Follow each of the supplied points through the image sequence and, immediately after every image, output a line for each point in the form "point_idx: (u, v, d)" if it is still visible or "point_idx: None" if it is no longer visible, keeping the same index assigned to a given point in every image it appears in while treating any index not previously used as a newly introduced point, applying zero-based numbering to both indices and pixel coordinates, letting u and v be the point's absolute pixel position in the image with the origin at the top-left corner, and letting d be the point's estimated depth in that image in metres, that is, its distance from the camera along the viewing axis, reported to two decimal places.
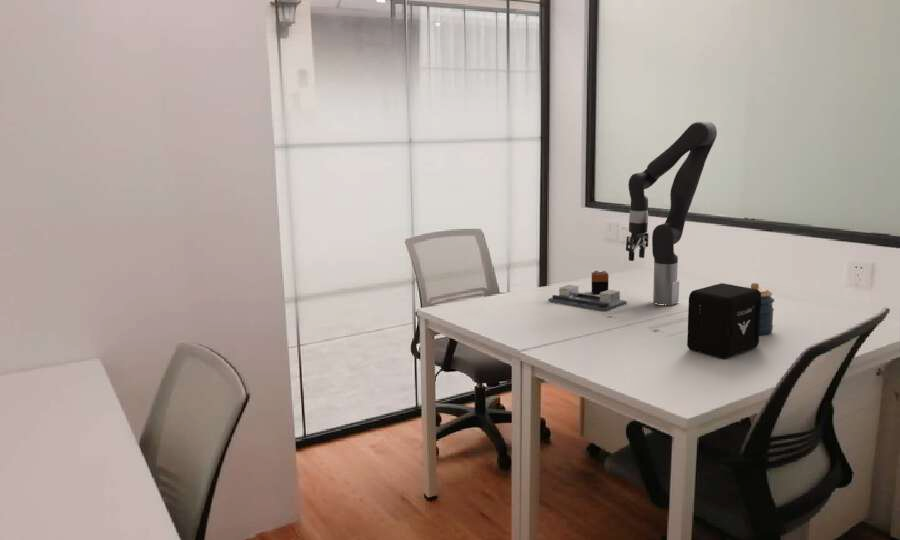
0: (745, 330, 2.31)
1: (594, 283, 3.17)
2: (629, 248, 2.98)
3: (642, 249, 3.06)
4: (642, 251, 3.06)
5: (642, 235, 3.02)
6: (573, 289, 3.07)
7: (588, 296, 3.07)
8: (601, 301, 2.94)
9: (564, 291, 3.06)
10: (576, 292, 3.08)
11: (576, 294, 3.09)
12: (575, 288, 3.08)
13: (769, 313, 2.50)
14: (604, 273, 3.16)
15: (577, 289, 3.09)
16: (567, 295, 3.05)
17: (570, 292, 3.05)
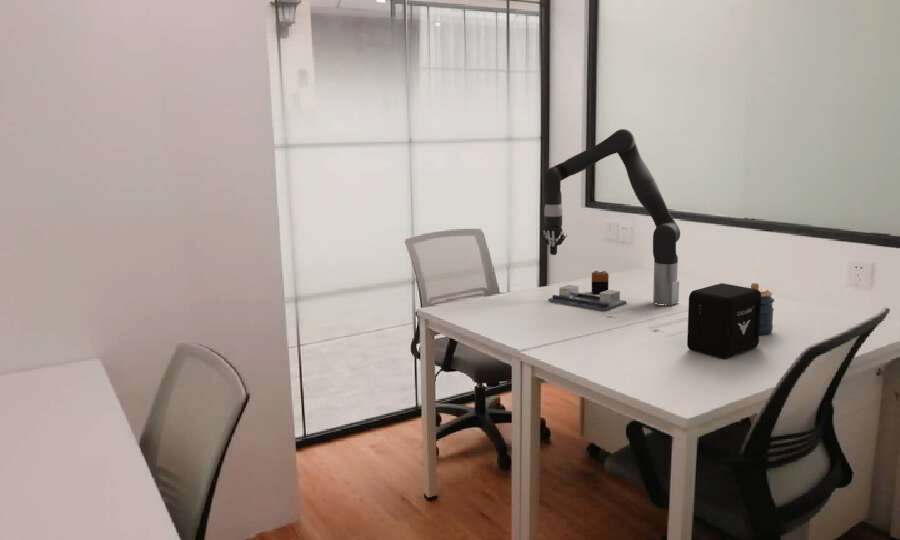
0: (745, 330, 2.31)
1: (594, 283, 3.17)
2: None
3: None
4: None
5: None
6: (573, 289, 3.07)
7: (588, 296, 3.07)
8: (601, 301, 2.94)
9: (564, 291, 3.06)
10: (576, 292, 3.08)
11: (576, 294, 3.09)
12: (575, 288, 3.08)
13: (769, 313, 2.50)
14: (604, 273, 3.16)
15: (577, 289, 3.09)
16: (567, 295, 3.05)
17: (570, 292, 3.05)
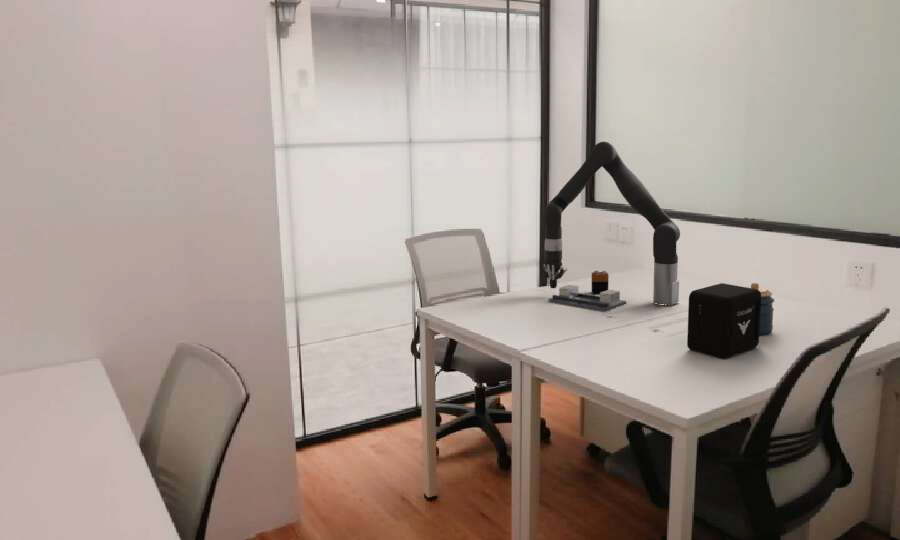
0: (745, 330, 2.31)
1: (594, 283, 3.17)
2: None
3: None
4: None
5: None
6: (573, 289, 3.07)
7: (588, 296, 3.07)
8: (601, 301, 2.94)
9: (564, 291, 3.06)
10: (576, 292, 3.08)
11: (576, 294, 3.09)
12: (575, 288, 3.08)
13: (769, 313, 2.50)
14: (604, 273, 3.16)
15: (577, 289, 3.09)
16: (567, 295, 3.05)
17: (570, 292, 3.05)
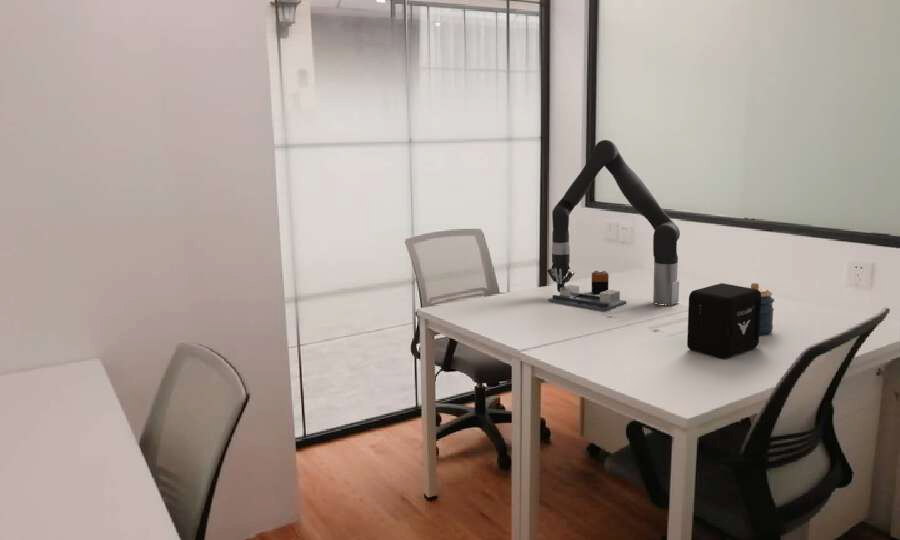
0: (745, 330, 2.31)
1: (594, 283, 3.17)
2: None
3: None
4: None
5: None
6: (574, 289, 3.06)
7: (588, 296, 3.07)
8: (601, 301, 2.94)
9: (565, 291, 3.06)
10: (576, 292, 3.08)
11: (577, 294, 3.09)
12: (576, 288, 3.07)
13: (769, 313, 2.50)
14: (604, 273, 3.16)
15: (578, 289, 3.09)
16: (568, 295, 3.05)
17: (570, 292, 3.05)
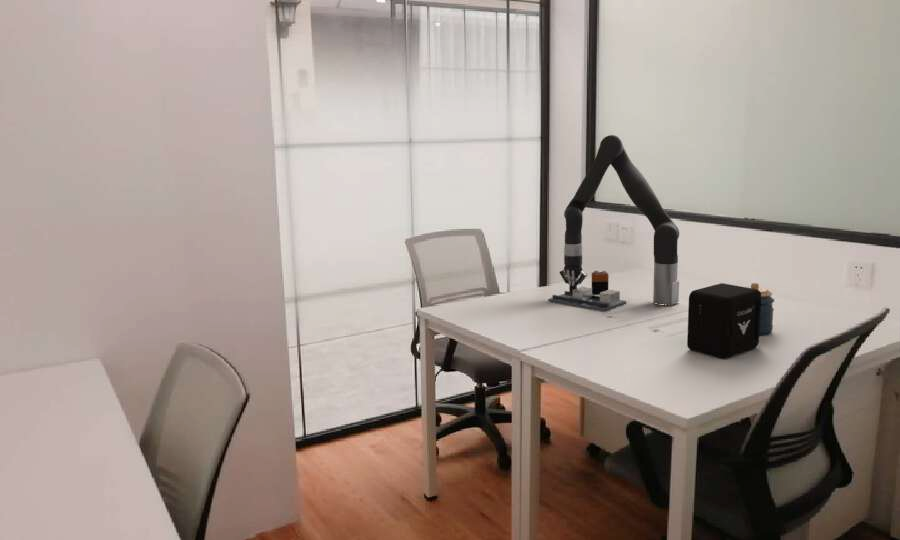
0: (745, 330, 2.31)
1: (594, 283, 3.17)
2: None
3: None
4: None
5: None
6: (587, 291, 3.02)
7: None
8: (601, 301, 2.94)
9: (577, 293, 3.02)
10: (589, 294, 3.04)
11: (589, 296, 3.04)
12: (588, 290, 3.03)
13: (769, 313, 2.50)
14: (604, 273, 3.16)
15: (591, 291, 3.04)
16: (581, 297, 3.01)
17: (583, 294, 3.00)
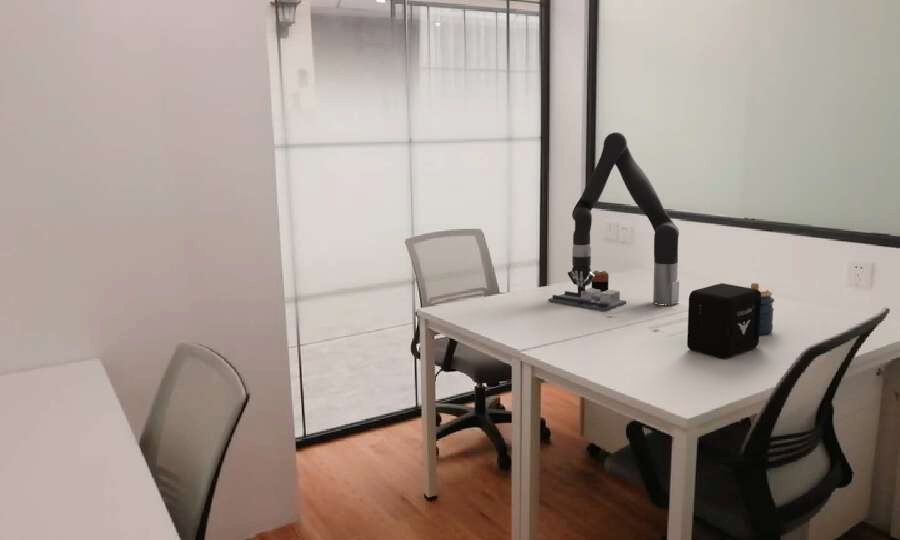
0: (745, 330, 2.31)
1: (594, 283, 3.17)
2: None
3: None
4: None
5: None
6: (595, 293, 2.99)
7: None
8: (601, 301, 2.94)
9: (586, 295, 2.99)
10: (598, 295, 3.01)
11: (598, 298, 3.01)
12: (597, 291, 3.00)
13: (769, 313, 2.50)
14: (604, 273, 3.16)
15: (599, 292, 3.02)
16: (589, 299, 2.98)
17: (592, 296, 2.98)
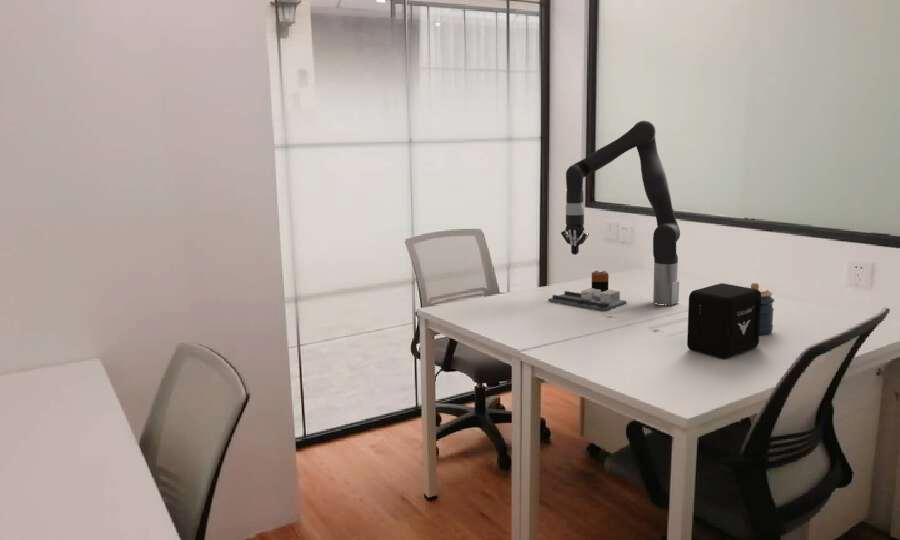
0: (745, 330, 2.31)
1: (594, 283, 3.17)
2: None
3: None
4: None
5: None
6: (595, 293, 2.99)
7: None
8: (601, 301, 2.94)
9: (586, 295, 2.99)
10: (598, 295, 3.01)
11: (598, 298, 3.01)
12: (597, 291, 3.00)
13: (769, 313, 2.50)
14: (604, 273, 3.16)
15: (600, 292, 3.02)
16: (589, 299, 2.98)
17: (592, 296, 2.98)
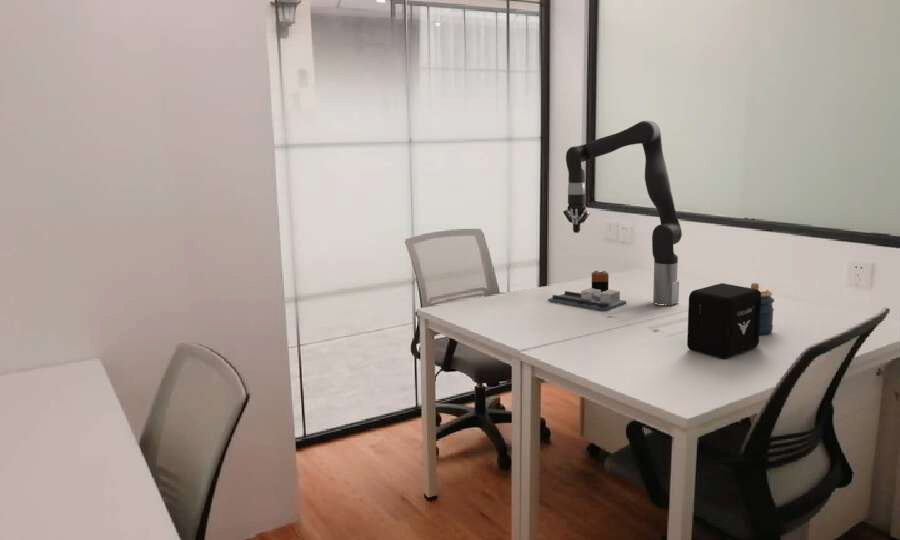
0: (745, 330, 2.31)
1: (594, 283, 3.17)
2: None
3: None
4: None
5: None
6: (595, 293, 2.99)
7: None
8: (601, 301, 2.94)
9: (586, 295, 2.99)
10: (598, 295, 3.01)
11: (598, 298, 3.01)
12: (597, 291, 3.00)
13: (769, 313, 2.50)
14: (604, 273, 3.16)
15: (600, 292, 3.02)
16: (589, 299, 2.98)
17: (592, 296, 2.98)
